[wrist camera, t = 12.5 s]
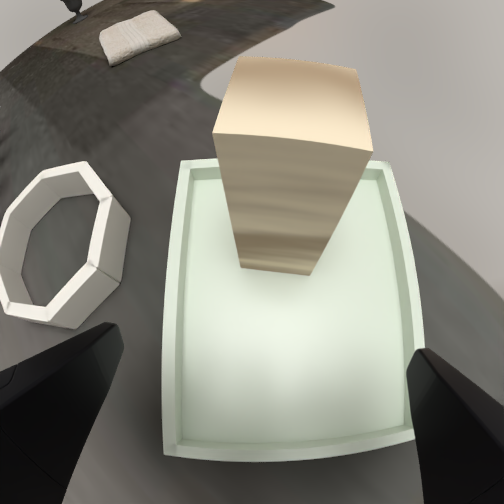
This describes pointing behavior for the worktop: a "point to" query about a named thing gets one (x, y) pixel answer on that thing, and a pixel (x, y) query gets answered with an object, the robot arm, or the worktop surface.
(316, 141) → the dowel block
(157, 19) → the washcloth
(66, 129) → the worktop surface
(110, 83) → the worktop surface
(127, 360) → the worktop surface
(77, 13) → the sundae
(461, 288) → the worktop surface
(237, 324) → the tray
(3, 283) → the collar
